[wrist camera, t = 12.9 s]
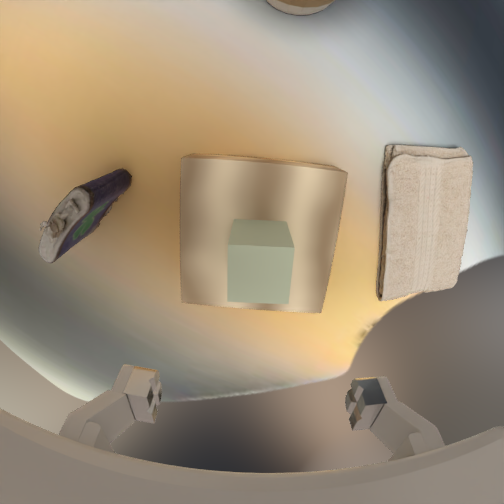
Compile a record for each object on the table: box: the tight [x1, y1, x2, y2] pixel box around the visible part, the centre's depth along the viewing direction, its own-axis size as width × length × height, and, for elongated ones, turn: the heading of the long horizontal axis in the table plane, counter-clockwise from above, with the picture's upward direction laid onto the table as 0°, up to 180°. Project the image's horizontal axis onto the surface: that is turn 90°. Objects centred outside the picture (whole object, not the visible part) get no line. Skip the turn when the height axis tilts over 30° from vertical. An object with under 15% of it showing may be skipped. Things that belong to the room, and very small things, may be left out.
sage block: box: [227, 219, 295, 304], centre depth 24 cm, size 4×4×6 cm
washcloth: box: [376, 145, 473, 301], centre depth 29 cm, size 12×18×3 cm, turn 7°
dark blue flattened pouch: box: [39, 168, 132, 263], centre depth 25 cm, size 9×3×11 cm, turn 132°
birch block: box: [180, 154, 348, 313], centre depth 29 cm, size 14×14×5 cm
